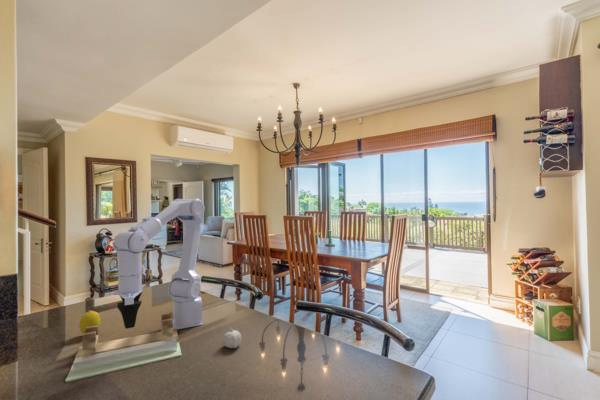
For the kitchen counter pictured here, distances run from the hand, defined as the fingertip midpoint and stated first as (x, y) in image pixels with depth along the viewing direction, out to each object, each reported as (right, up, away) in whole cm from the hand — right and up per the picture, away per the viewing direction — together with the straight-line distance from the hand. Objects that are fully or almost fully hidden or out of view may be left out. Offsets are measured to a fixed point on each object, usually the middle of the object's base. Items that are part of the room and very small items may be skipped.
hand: (130, 322), depth 83 cm
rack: (-4, -9, +6) cm, 12 cm away
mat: (+1, -9, -3) cm, 10 cm away
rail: (+1, -9, -3) cm, 9 cm away
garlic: (+27, -10, +5) cm, 29 cm away
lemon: (-20, -10, +12) cm, 25 cm away
